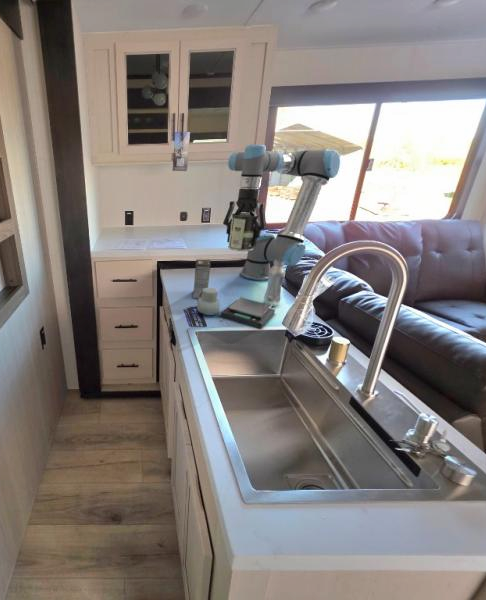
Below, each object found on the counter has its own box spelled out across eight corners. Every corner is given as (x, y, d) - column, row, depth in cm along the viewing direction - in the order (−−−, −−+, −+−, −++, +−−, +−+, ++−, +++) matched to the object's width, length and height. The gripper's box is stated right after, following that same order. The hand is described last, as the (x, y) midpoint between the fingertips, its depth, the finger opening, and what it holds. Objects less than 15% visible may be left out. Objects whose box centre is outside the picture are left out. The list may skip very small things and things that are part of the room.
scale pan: (240, 299, 136) (240, 297, 136) (271, 307, 128) (271, 305, 128) (228, 309, 127) (228, 307, 126) (260, 318, 119) (261, 316, 119)
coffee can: (253, 246, 137) (258, 213, 131) (253, 252, 128) (259, 217, 122) (228, 244, 140) (232, 212, 134) (226, 250, 131) (231, 215, 126)
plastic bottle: (272, 308, 133) (281, 263, 125) (259, 303, 139) (267, 259, 131) (282, 305, 136) (292, 261, 128) (269, 300, 141) (277, 257, 133)
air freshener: (219, 318, 125) (222, 295, 121) (197, 317, 126) (200, 294, 122) (216, 307, 135) (219, 285, 131) (196, 306, 136) (198, 284, 132)
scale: (236, 303, 138) (236, 298, 137) (274, 314, 129) (275, 308, 128) (220, 316, 127) (221, 311, 126) (261, 328, 117) (262, 323, 116)
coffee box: (193, 291, 152) (196, 258, 145) (206, 291, 151) (210, 259, 144) (192, 298, 143) (195, 264, 137) (207, 299, 142) (210, 265, 136)
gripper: (218, 187, 128) (212, 241, 137) (275, 190, 115) (265, 249, 124) (226, 186, 134) (220, 238, 142) (282, 189, 120) (271, 246, 129)
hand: (241, 243), depth 133 cm, fingers closed on coffee can, 10 cm apart
